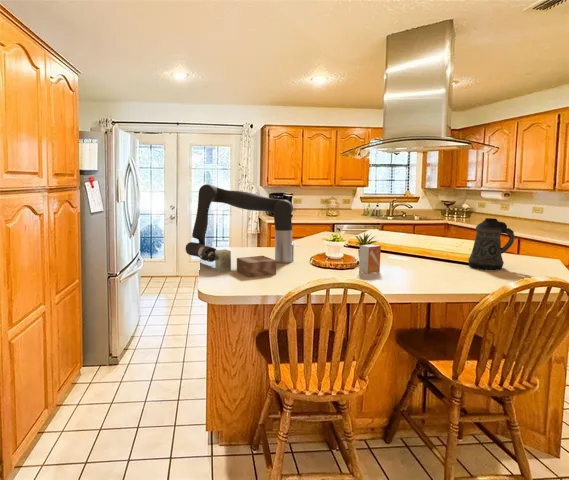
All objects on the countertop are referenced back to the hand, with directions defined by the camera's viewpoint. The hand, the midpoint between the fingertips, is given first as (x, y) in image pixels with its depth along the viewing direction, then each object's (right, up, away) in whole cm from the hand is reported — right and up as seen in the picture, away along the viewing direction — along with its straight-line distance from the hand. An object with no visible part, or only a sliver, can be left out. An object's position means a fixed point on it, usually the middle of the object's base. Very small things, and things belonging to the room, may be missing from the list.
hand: (221, 258), depth 221 cm
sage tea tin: (+1, -6, -1) cm, 6 cm away
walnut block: (+17, -7, -5) cm, 19 cm away
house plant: (+73, -3, +22) cm, 77 cm away
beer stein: (+135, -5, +10) cm, 135 cm away
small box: (+72, -7, -2) cm, 72 cm away
